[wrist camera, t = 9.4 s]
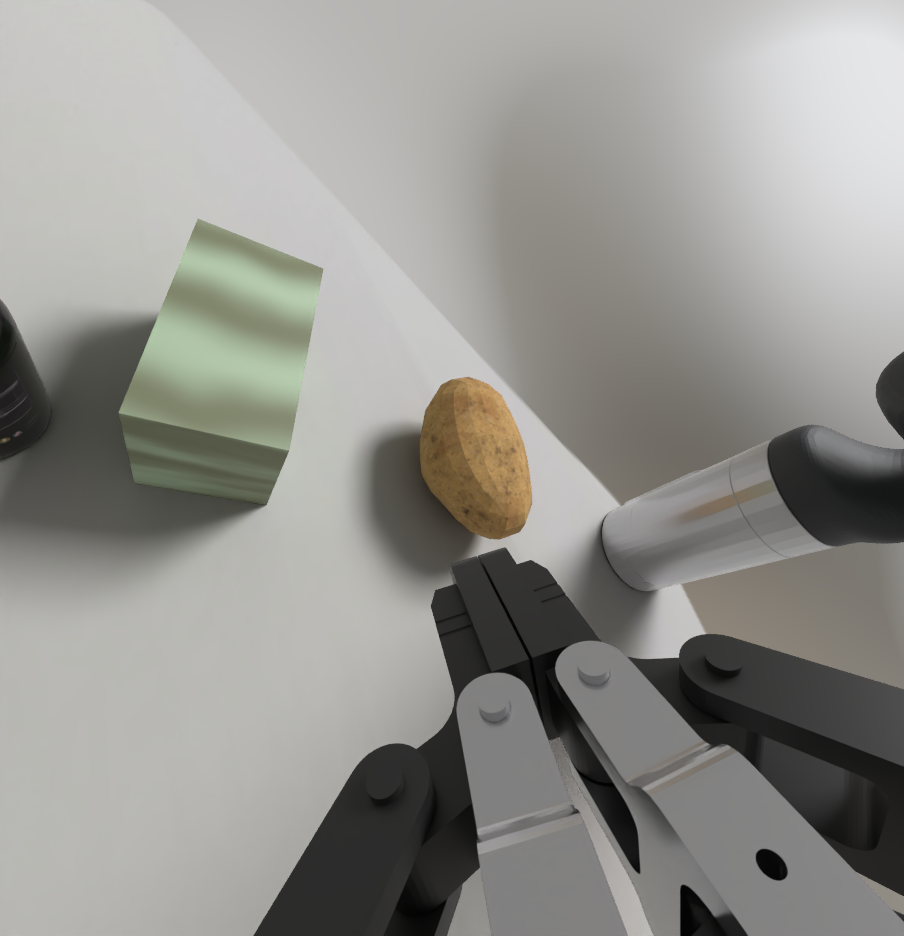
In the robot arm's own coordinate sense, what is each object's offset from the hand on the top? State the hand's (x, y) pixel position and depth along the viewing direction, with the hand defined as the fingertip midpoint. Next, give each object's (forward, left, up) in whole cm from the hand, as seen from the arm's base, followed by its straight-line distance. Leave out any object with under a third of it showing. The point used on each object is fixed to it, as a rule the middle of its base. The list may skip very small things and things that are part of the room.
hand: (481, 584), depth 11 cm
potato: (-19, 0, -23) cm, 30 cm away
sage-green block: (-10, -17, -23) cm, 30 cm away
